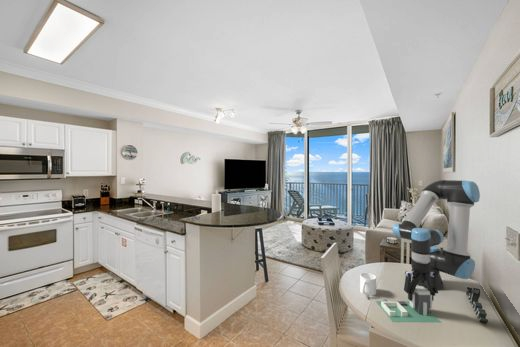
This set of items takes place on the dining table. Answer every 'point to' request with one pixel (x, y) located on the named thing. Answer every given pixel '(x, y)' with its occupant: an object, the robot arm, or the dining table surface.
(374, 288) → the mug
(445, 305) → the dining table surface
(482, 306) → the dining table surface
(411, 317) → the board
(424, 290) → the plug
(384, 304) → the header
